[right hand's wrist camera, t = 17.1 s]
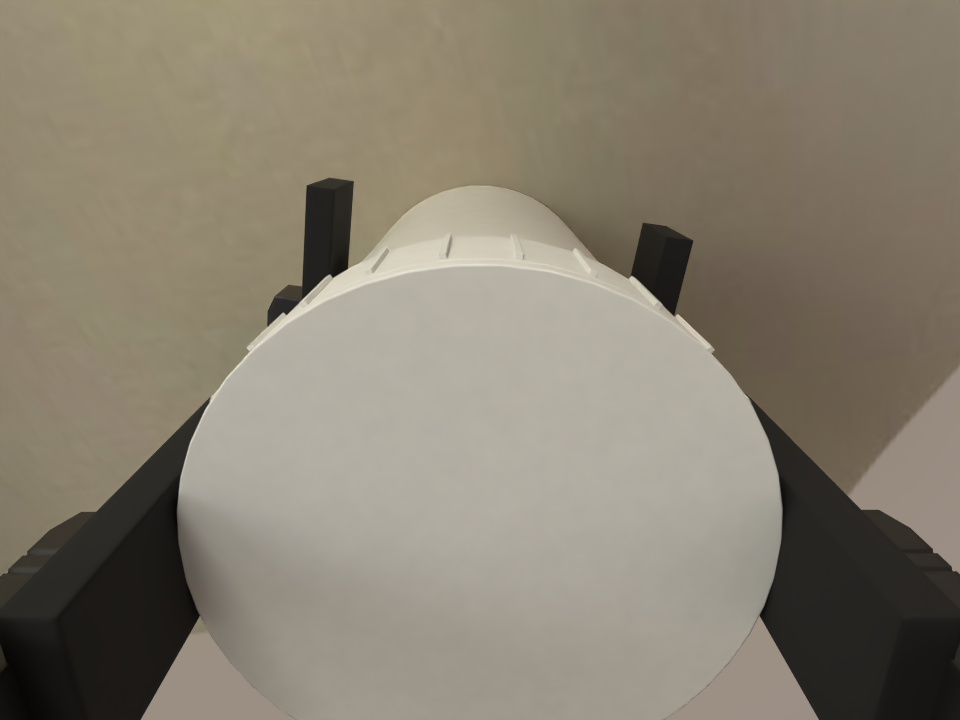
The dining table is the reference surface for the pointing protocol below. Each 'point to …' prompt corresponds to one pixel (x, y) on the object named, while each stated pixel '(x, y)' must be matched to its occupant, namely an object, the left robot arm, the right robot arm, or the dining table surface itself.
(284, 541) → the lid
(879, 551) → the right robot arm
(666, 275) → the left robot arm
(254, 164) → the dining table surface
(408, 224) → the jar
